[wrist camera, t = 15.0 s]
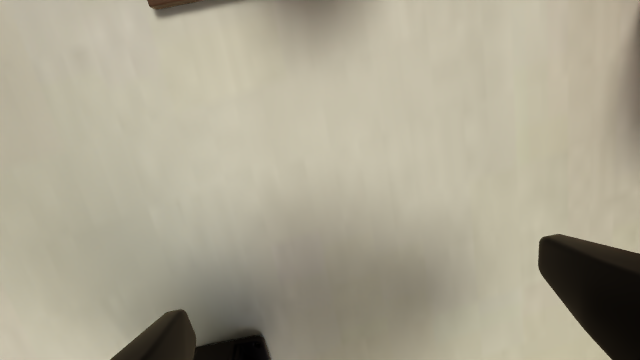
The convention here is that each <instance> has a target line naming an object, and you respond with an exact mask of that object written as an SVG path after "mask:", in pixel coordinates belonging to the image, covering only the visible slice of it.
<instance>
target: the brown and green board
mask: <svg viewBox="0 0 640 360" xmlns="http://www.w3.org/2000/svg"><path fill="white" fill-rule="evenodd" d="M147 1H148V4H149V6H150V7H151V8H154V9H156V10H158V9H163V8H168V7H173V6H178V5H183V4H188V3H193V2H198V1H203V0H147Z"/></svg>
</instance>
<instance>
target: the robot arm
mask: <svg viewBox="0 0 640 360" xmlns="http://www.w3.org/2000/svg"><path fill="white" fill-rule="evenodd" d="M538 267H539V270H540V273H541V274H542V276H543V277H544V279H545V280H546V281H547V282H548V284H549V285H550V286H551V288H552V289H553V290H554V291H555V293H556V294H557V295H558V297H559V298H560V299H561V301H562V302H563V303H564V304H565V306H566V307H567V308H568V310H569V311H570V312H571V313H572V315H573V316H574V317H575V319H576V320H577V321H578V322H579V323H580V325H581V326H582V327H583V328H584V330H585V331H586V332H587V333H588V334H589V335H590V336H591V337H592V339H593V340H594V341H595V342H596V343H597V344H598V345H599V346H600V347H601V348H602V349H603V350H604V352H605V353H606V354H607V355H608V356H609V357H610V358H611V359H612V360H640V254H638V253H634V252H630V251H626V250H622V249H618V248H614V247H610V246H606V245H602V244H598V243H594V242H590V241H586V240H582V239H578V238H574V237H569V236H565V235H561V234H555V235H550V236H545V237H543V238H541V240H540V242H539V258H538ZM257 343H259V344H257ZM195 347H196V336H195V332H194V330H193V327H192V325H191V323H190V320H189V318H188V315H187V313H186V312H185V311H184V310H182V309H180V310H175V311H170V312H167V313H165V314H164V315H163V316H161V317H160V318H159V319H158V320H157V321H155V322H154V323H153V324H152V325H151V326H149V327H148V328H147V329H146V330H145V331H144V332H142V333H141V334H140V335H139V336H138V337H136V338H135V339H134V340H133V341H132V342H131V343H129V344H128V345H127V346H126V347H125V348H123V349H122V350H121V351H120V352H119V353H117V354H116V355H115V356H114V357H113V358H112V359H110V360H271V358H270V355H269V352H268V349H267V345H266V342H265V339H264V338H263V337H262V336H252V337H247V338H242V339H237V340H232V341H227V342H222V343H217V344H212V345H207V346H202V347H197V348H195Z"/></svg>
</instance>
